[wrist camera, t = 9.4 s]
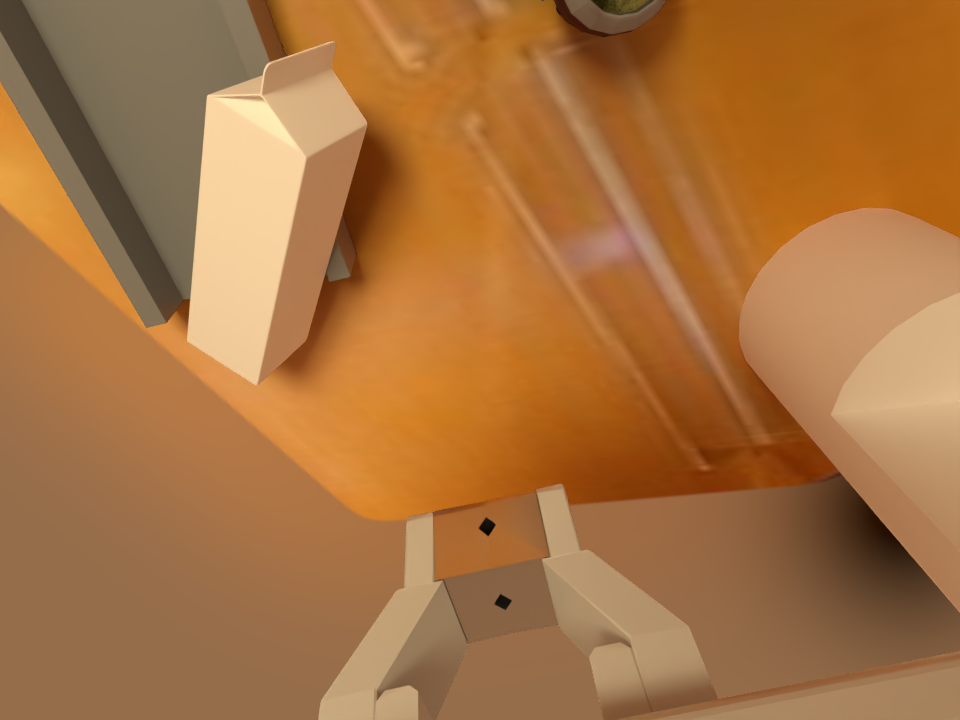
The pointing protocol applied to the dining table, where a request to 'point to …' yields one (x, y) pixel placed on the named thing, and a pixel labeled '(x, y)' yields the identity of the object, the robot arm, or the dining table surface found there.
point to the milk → (270, 209)
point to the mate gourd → (607, 14)
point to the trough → (136, 120)
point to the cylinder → (872, 366)
